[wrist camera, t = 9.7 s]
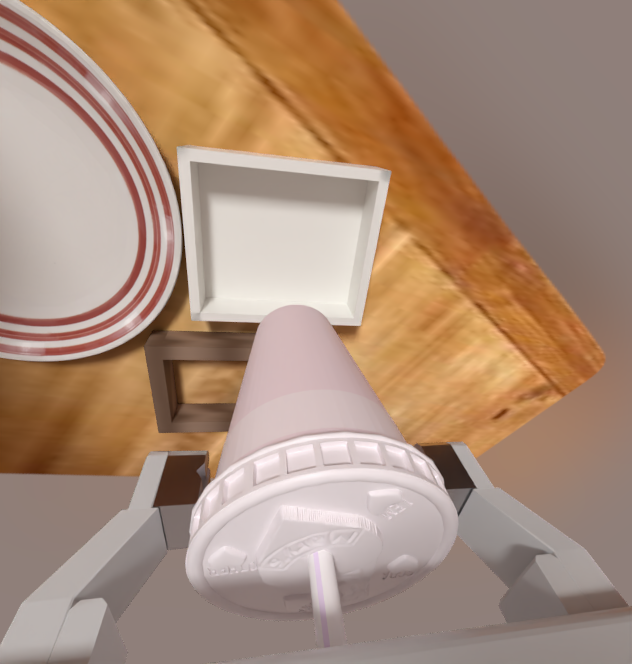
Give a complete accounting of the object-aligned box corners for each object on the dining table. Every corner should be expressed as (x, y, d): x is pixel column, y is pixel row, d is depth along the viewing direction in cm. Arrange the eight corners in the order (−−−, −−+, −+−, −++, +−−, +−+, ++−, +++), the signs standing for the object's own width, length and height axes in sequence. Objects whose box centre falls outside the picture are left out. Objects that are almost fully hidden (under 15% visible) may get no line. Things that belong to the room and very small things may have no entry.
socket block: (165, 413, 40) (158, 432, 37) (153, 330, 34) (143, 346, 32) (291, 412, 42) (293, 430, 40) (299, 334, 37) (301, 349, 34)
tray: (198, 301, 33) (191, 320, 30) (188, 145, 27) (176, 146, 23) (351, 307, 36) (360, 325, 33) (376, 166, 29) (391, 171, 26)
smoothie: (333, 251, 14) (731, 936, 2) (377, 362, 17) (628, 873, 5) (197, 312, 15) (-99, 1122, 3) (265, 408, 18) (268, 960, 6)
